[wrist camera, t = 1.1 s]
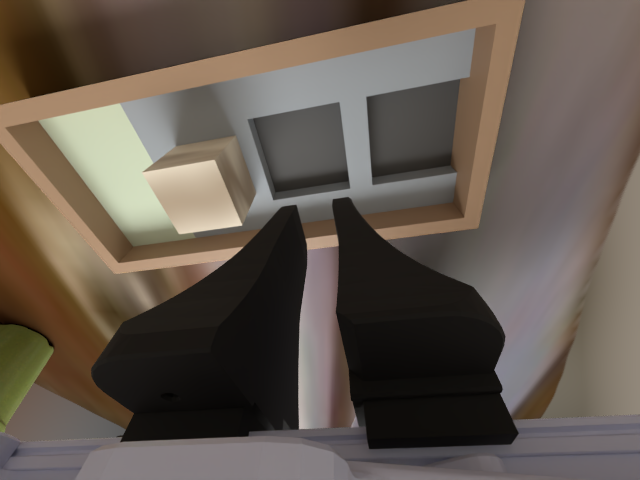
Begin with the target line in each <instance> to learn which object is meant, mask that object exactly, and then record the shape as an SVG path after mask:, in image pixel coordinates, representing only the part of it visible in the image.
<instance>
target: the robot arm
mask: <svg viewBox="0 0 640 480" xmlns="http://www.w3.org/2000/svg"><path fill="white" fill-rule="evenodd" d="M332 209H333V215H334V221H335V226H336V232H337V238H338V244H339V276H338V294H337V307H336V314H337V319H338V323H339V328H340V332H341V336H342V341H343V345H344V350H345V354H346V359H347V363H348V368H349V380H350V395H351V401H353V405H354V409H355V413H356V416H355V419H354V421H353V423H352V426H351V427H344V428H321V429H299V413H298V358H299V322H300V312H301V305H302V298H303V291H304V284H305V277H306V269H307V242H306V239H305V235H304V231H303V227H302V223H301V220H300V216H299V212H298V208H297V205H290V206H283V207H281V208H280V209H279V210H278V211H277V212H276V213H275V214H274V215H273V217H272V218H271V219H270V220H269V221H268V222H267V223H266V224H265V226H264V227H263V228H262V229H261V230H260V231H259V232H258V233H257V234H256V235H255V236H254V237H253V238H252V239H251V240H250V241H249V242H248V243H247V244H246V245H245V246H244V247H243V248H242V249H241V250H240V251H239V252H238V253H237V254H235V255H234V256H233V257H232V258H231V259H229V260H228V261H227V262H226V263H225V264H223V265H222V266H221V267H219V268H218V269H217V270H215V271H214V272H212V273H211V274H209V275H208V276H207V277H205V278H204V279H202V280H201V281H199V282H198V283H196V284H195V285H193V286H192V287H190V288H188V289H187V290H185V291H183V292H182V293H180V294H178V295H176V296H175V297H173V298H171V299H169V300H167V301H166V302H164V303H162V304H160V305H158V306H156V307H154V308H152V309H150V310H148V311H146V312H144V313H142V314H140V315H138V316H136V317H134V318H132V319H129V320H127V321H125V322H123V323H122V325H121V326H120V327H119V329H118V330H117V332H116V333H115V335H114V336H113V338H112V339H111V340H110V342H109V343H108V345H107V346H106V348H105V349H104V351H103V352H102V354H101V355H100V356H99V358H98V359H97V361H96V362H95V364H94V365H93V367H92V368H91V375H92V378H93V380H94V382H95V384H96V385H97V386H98V387H99V388H100V389H101V390H102V391H103V392H105V393H106V394H107V395H109V396H110V397H112V398H113V399H115V400H116V401H117V402H119V403H120V404H122V405H123V406H124V407H126V408H127V409H129V410H130V411H132V412H133V413H134V415H133V417H132V419H131V421H130V423H129V425H128V427H127V429H126V431H125V433H124V435H123V437H116V438H95V439H71V440H50V441H26V442H20V440H19V439H17V438H16V437H14V436H11V435H9V434H6V433H3V432H0V480H640V415H619V416H594V417H571V418H548V419H525V420H512V418H511V416H510V414H509V412H508V409H507V407H506V405H505V403H504V401H503V399H502V397H501V395H500V393H501V392H502V390H503V389H502V385H501V383H500V381H499V379H498V377H497V375H496V373H495V371H494V369H495V367H496V364H497V362H498V359H499V357H500V355H501V352H502V350H503V347H504V342H505V334H504V332H503V329H502V327H501V325H500V323H499V322H498V320H497V318H496V317H495V315H494V313H493V312H492V310H491V309H490V308H489V306H488V305H487V304H486V302H485V301H484V300H483V299H482V297H481V296H480V295H479V294H478V292H477V291H476V290H475V289H474V287H472V286H470V285H467V284H465V283H462V282H460V281H457V280H455V279H452V278H450V277H447V276H445V275H442V274H440V273H438V272H436V271H434V270H432V269H430V268H428V267H426V266H424V265H422V264H420V263H418V262H416V261H415V260H413V259H411V258H410V257H408V256H407V255H405V254H403V253H402V252H400V251H399V250H397V249H396V248H395V247H393V246H392V245H391V244H390V243H388V242H387V241H386V240H385V239H384V238H382V237H381V236H380V235H379V234H378V233H377V232H376V231H375V230H374V229H373V228H372V227H371V226H370V225H369V224H368V223H367V221H366V220H365V219H364V218H363V217H362V215H361V214H360V213H359V212H358V210H357V209H356V207H355V206H354V204H353V202H352V199H351V198H349V197H344V198H337V199H333V201H332Z"/></svg>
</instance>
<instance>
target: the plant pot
mask: <svg viewBox="0 0 640 480" xmlns="http://www.w3.org/2000/svg"><path fill="white" fill-rule="evenodd" d="M53 350H54V349H53V347H52V346H49V344H48V342H47V339H46V338H44V337H43V336H42V335H40V334H39V333H36V332H34V331H32V330H30V329H28V328H26V327H23V326H19V325H14V324H9V325H0V432H3V433H4V432H5V429H6V428H5V427H6V425H7V424H8V422H9V420H10V419H11V417H12V415H13V414H14V412H15V411H16V409H17V408H18V406H19V405H20V403H21V402H22V400H23V398H24V397H25V395H26V394H27V392H28V391H29V389H30V388H31V385H32V384H33V383H34V381H35V380H36V378H37V377H38V375H39V374H40V372H41V370H42V369H43V367H44V366H45V364H46V363H47V361H48V360H49V358H50V356H51V355H52V353H53Z"/></svg>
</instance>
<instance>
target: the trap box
mask: <svg viewBox="0 0 640 480" xmlns="http://www.w3.org/2000/svg"><path fill="white" fill-rule="evenodd" d="M524 4H525V0H466V1H461V2H457V3H452V4H448V5H444V6H439V7H435V8H430V9H426V10H421V11H417V12H412V13H408V14H403V15H399V16H394V17H390V18H385V19H381V20H377V21H372V22H368V23H363V24H359V25H354V26H350V27H345V28H341V29H336V30H332V31H327V32H323V33H318V34H314V35H310V36H305V37H301V38H296V39H292V40H287V41H283V42H278V43H274V44H269V45H265V46H260V47H256V48H251V49H247V50H243V51H238V52H234V53H229V54H225V55H220V56H216V57H211V58H207V59H202V60H198V61H193V62H189V63H185V64H180V65H176V66H171V67H167V68H162V69H158V70H153V71H149V72H144V73H140V74H135V75H131V76H126V77H122V78H118V79H113V80H109V81H104V82H100V83H95V84H91V85H86V86H82V87H77V88H73V89H68V90H64V91H59V92H55V93H51V94H46V95H42V96H37V97H33V98H28V99H24V100H20V101H15V102H11V103H6V104H2V105H0V144H1V145H2V146H3V147H4V148H5V149H6V150H7V152H8V153H9V154H10V155H11V156H12V157H13V158H14V160H15V161H16V162H17V163H18V164H19V165H20V166H21V167H22V169H23V170H24V171H25V172H26V173H27V174H28V175H29V177H30V178H31V179H32V180H33V181H34V182H35V183H36V185H37V186H38V187H39V188H40V189H41V190H42V191H43V193H44V194H45V195H46V196H47V197H48V198H49V199H50V201H51V202H52V203H53V204H54V205H55V206H56V207H57V209H58V210H59V211H60V212H61V213H62V214H63V215H64V217H65V218H66V219H67V220H68V221H69V222H70V223H71V225H72V226H73V227H74V228H75V229H76V230H77V231H78V233H79V234H80V235H81V236H82V237H83V238H84V239H85V241H86V242H87V243H88V244H89V245H90V246H91V247H92V249H93V250H94V251H95V252H96V253H97V254H98V255H99V257H100V258H101V259H102V260H103V261H104V262H105V263H106V265H107V266H108V267H109V268H110V269H111V270H112V271H113V273H114V274H119V273H127V272H135V271H143V270H151V269H159V268H167V267H175V266H183V265H191V264H199V263H207V262H214V261H222V260H229V259H231V258H232V257H233V256H234V255H235V254H237V253H238V252H239V251H240V250H241V249H242V248H243V247H244V246H245V245H246V244H247V243H248V242H249V241H250V240H251V239H252V238H253V237H254V236H255V235H256V234H257V233H258V232H259V231H260V230H261V229H262V228H263V227H264V226H265V224H266V223H267V222H268V221H269V220H270V219H271V218H272V217H273V215H274V214H275V213H276V212H277V211H278V210H279V209H280V208H281V207H283V206H290V205H297V208H298V212H299V216H300V220H301V223H302V227H303V231H304V235H305V239H306V242H307V250H310V249H318V248H326V247H333V246H339V244H338V238H337V232H336V226H335V221H334V215H333V209H332V201H333V199H337V198H344V197H349V198H351V199H352V202H353V204H354V206H355V207H356V209H357V210H358V212H359V213H360V214H361V215H362V217H363V218H364V219H365V220H366V221H367V223H368V224H369V225H370V226H371V227H372V228H373V229H374V230H375V231H376V232H377V233H378V234H379V235H380V236H381V237H382V238H384V239H385V240H389V239H397V238H405V237H413V236H421V235H429V234H437V233H445V232H452V231H460V230H468V229H476V228H478V227H479V222H480V217H481V212H482V207H483V202H484V198H485V193H486V188H487V183H488V178H489V173H490V169H491V164H492V159H493V154H494V149H495V144H496V140H497V135H498V130H499V125H500V120H501V115H502V111H503V106H504V101H505V96H506V91H507V86H508V82H509V77H510V72H511V67H512V62H513V57H514V53H515V48H516V43H517V38H518V33H519V28H520V24H521V19H522V14H523V9H524ZM235 135H236V137H237V140H238V143H239V146H240V148H241V151H242V154H243V157H244V160H245V162H246V165H247V168H248V171H249V174H250V177H251V179H252V182H253V185H254V188H255V191H256V195H255V197H254V200H253V202H252V204H251V207H250V209H249V211H248V214H247V216H246V218H245V221H244V223H243V225H242V226H235V227H228V228H221V229H214V230H207V231H200V232H193V233H186V234H179V233H178V232H177V230H176V228H175V227H174V225H173V223H172V222H171V220H170V218H169V217H168V215H167V213H166V212H165V210H164V209H163V207H162V205H161V204H160V202H159V200H158V199H157V197H156V195H155V194H154V192H153V190H152V189H151V187H150V185H149V184H148V182H147V180H146V179H145V177H144V175H143V174H142V172H143V171H144V170H146V169H147V168H148V167H150V166H151V165H152V164H153V163H155V162H156V161H157V160H159V159H160V158H161V157H163V156H164V155H165V154H166V153H168V152H169V151H170V150H172V149H173V148H174V147H176V146H180V145H186V144H191V143H197V142H202V141H207V140H213V139H218V138H224V137H229V136H235Z"/></svg>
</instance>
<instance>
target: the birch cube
mask: <svg viewBox="0 0 640 480" xmlns="http://www.w3.org/2000/svg"><path fill="white" fill-rule="evenodd" d="M142 174H143V175H144V177H145V179H146V180H147V182H148V184H149V185H150V187H151V189H152V190H153V192H154V194H155V195H156V197H157V199H158V200H159V202H160V204H161V205H162V207H163V209H164V210H165V212H166V213H167V215H168V217H169V218H170V220H171V222H172V223H173V225H174V227H175V228H176V230H177V232H178V233H179V234H186V233H193V232H200V231H207V230H214V229H221V228H228V227H235V226H242V225H243V223H244V221H245V218H246V216H247V214H248V211H249V209H250V207H251V204H252V202H253V200H254V197H255V195H256V191H255V188H254V185H253V182H252V179H251V177H250V174H249V171H248V168H247V165H246V162H245V160H244V157H243V154H242V151H241V148H240V146H239V143H238V140H237V137H236V135H235V136H229V137H224V138H218V139H213V140H207V141H202V142H197V143H191V144H186V145H180V146H176V147H174V148H173V149H172V150H170V151H169V152H168V153H166V154H165V155H164V156H163V157H161V158H160V159H159V160H157V161H156V162H155V163H153V164H152V165H151V166H150V167H148V168H147V169H146V170H144V171H143V172H142Z"/></svg>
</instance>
